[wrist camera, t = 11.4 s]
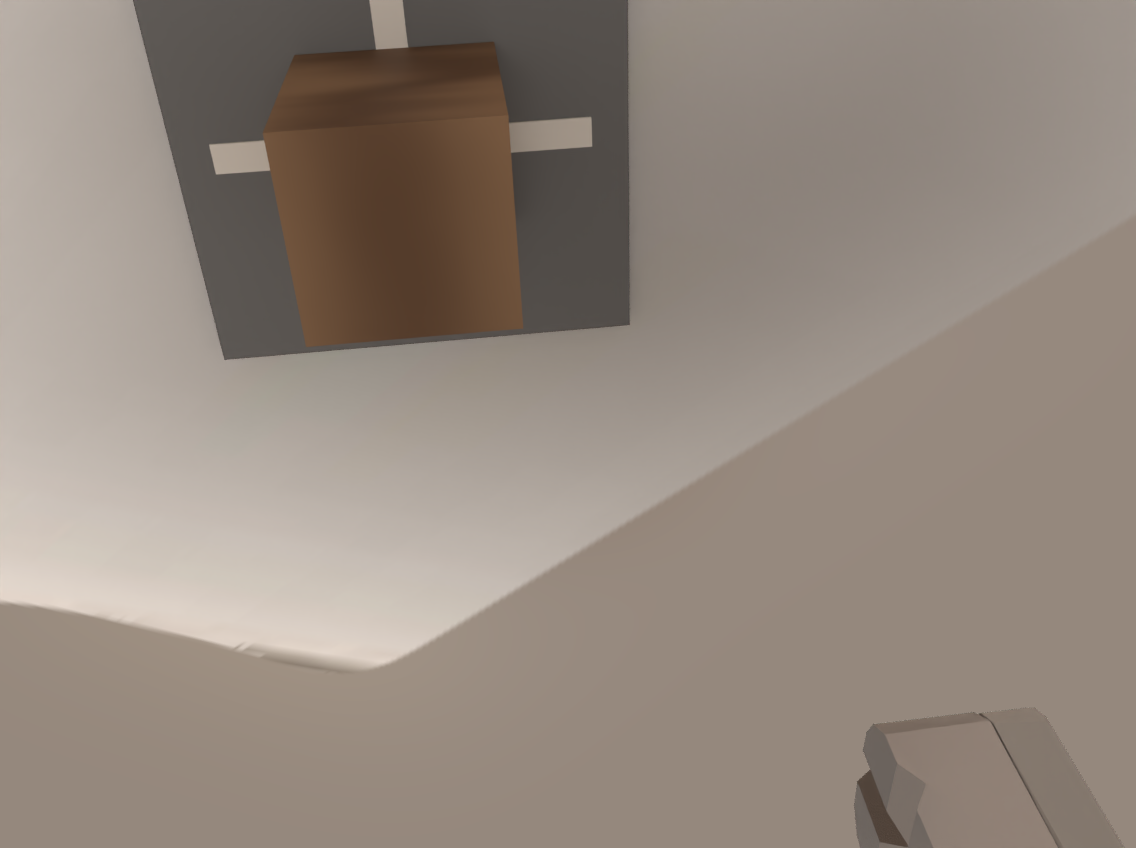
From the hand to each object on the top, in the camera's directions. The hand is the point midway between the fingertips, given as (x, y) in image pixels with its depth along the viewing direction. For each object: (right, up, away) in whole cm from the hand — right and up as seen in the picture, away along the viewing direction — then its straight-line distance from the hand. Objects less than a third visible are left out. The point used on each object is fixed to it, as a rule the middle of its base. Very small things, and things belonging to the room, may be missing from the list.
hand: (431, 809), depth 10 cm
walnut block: (-3, +11, +18) cm, 21 cm away
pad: (-3, +11, +19) cm, 22 cm away
